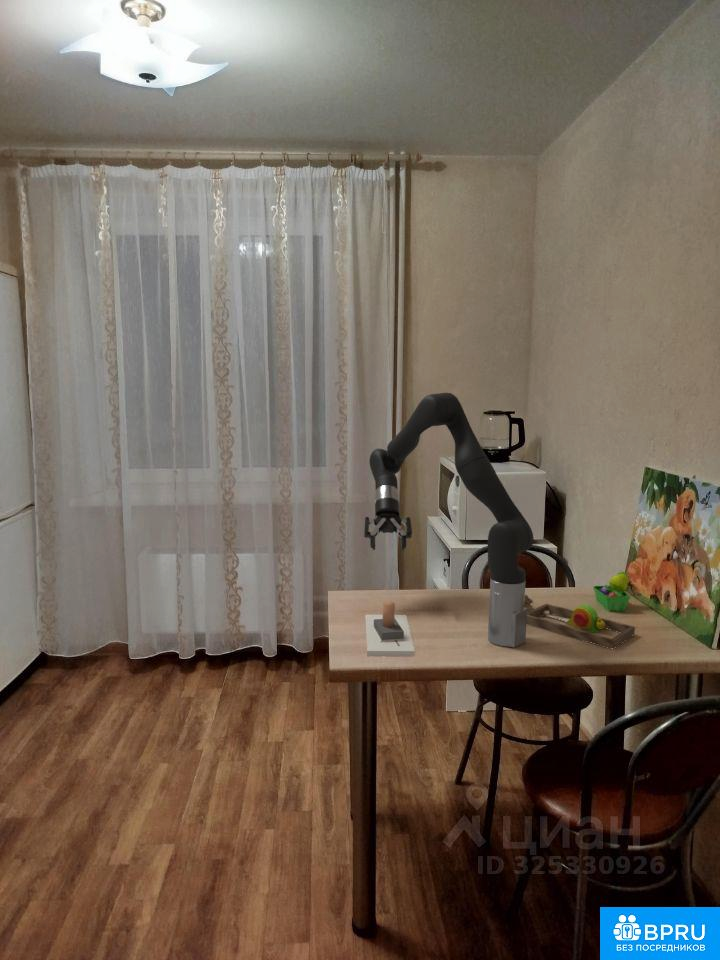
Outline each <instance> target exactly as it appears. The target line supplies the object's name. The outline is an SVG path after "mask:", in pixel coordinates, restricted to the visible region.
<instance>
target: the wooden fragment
mask: <svg viewBox="0 0 720 960" xmlns="http://www.w3.org/2000/svg"><path fill="white" fill-rule="evenodd" d="M531 603H533V599H531V598H529V596H528V595H527V594H525V600H524V607H525V608H527V612H530V611H532V610H534V609H535V608H534V607H533V605H531Z"/></svg>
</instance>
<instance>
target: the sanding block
mask: <svg viewBox="0 0 720 960" xmlns="http://www.w3.org/2000/svg"><path fill="white" fill-rule="evenodd" d="M395 604H396V603H395V602H394V601H384V602H382V615H383V619H374V629H375V631H376V632H377V634H378V636H379V637H380V639H381V641H393V640H404V631H403V630H402V628H401V627H400V625H399V624H398V622H397V621H396V619H395V618H394V616H395V615H396V614H395V610H396V609H395V608H396V606H395Z"/></svg>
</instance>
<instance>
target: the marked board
mask: <svg viewBox="0 0 720 960" xmlns="http://www.w3.org/2000/svg"><path fill="white" fill-rule="evenodd" d="M394 618H395V619H396V621H397V622H398V624H399V625H400V627H401V628H402V630H403V631H404V640H393V641H381V639H380V637H379V636H378V634H377V632H376V631H375V629H374V619H383V614H365V630H366V631H365V633H366V650H367V651H366V655H367V657H371V656H374V658H375V657H382V656H385V657H393V658H395V657H396V658H397V657H398V658H399V657H401V658H404V657H405V658H406V657H407V658H409V657H412V656H413V658H414V657H415V648H414V643H413V639H412V634H411V631H410V627H409V622H408V618H407V614H395V616H394Z"/></svg>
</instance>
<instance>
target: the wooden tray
mask: <svg viewBox="0 0 720 960" xmlns="http://www.w3.org/2000/svg"><path fill="white" fill-rule="evenodd" d="M533 609H534V610H532V611H530V612H527V624H526V625H528V626H531V627H535V628H539V629H542V630H545V631H549V632H552V633H556V634H559V635H562V636H565V637H569V638H573V639H575V638H576V639H575V640H580V641H582V640H584V641H583V642H585V641H588V642H587V643H589V642H592V643H595V644H598V645H597V646H599V645H601V646H600V647H602V646H604V647H603V648H606V647H608V648H607V649H609V648H613V649H614V648H615V647H617V646H618V645H619V646H621V645H622V644H623V643H622V642H624V641H625V640H627V639H628V638H630V637H631V636H632V635H634V636H635V632H636V631H635V630H636V626H633V625H629V624H625V623H621V622H618V621H613V620H609V619H607V618H603V622H604V623H605V627H604V628H608V629H611V630H615V631H618V632H617V633H618V634H617V635H615V636H613V637H612V638H610V637H607V636H603V635H601V634H596V633H594V632H591V631H588V630H584V629H579V628H576V627H573V626H570V625H567V624H566V625H564V624H561V623H558V622H554V621H552V620H549V619H548V620H547V619H544V618H540V617H541V616H544V615H543V614H542V613H543V612H544V611H547V610H548V611H549V612H550V613H551V614H550V613H549V614H550V615H553V614H555V615H554V616H557V615H559V616H558V617H561V616H562V617H561V618H564V617H565V618H564V619H568V618H569V619H570V618H571V617H572V613H573V611H574V610H572V609H569V608H566V607H561V606H558V605H553V604H549V603H545V604H543V605H540V606H538V607H536V608H533ZM600 618H601V617H599V616H598V619H600ZM604 628H603V629H604ZM608 629H607V630H608ZM611 630H610V631H611ZM615 631H614V632H615ZM619 632H621V633H619ZM631 638H632V637H631ZM631 638H630V639H631ZM628 640H629V639H628ZM628 640H627V641H628ZM625 642H626V641H625ZM625 642H624V643H625ZM592 643H591V644H592ZM621 643H622V644H621ZM595 644H594V645H595ZM620 644H621V645H620ZM619 646H618V647H619ZM618 647H617V648H618ZM615 649H616V648H615ZM615 649H614V650H615Z"/></svg>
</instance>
